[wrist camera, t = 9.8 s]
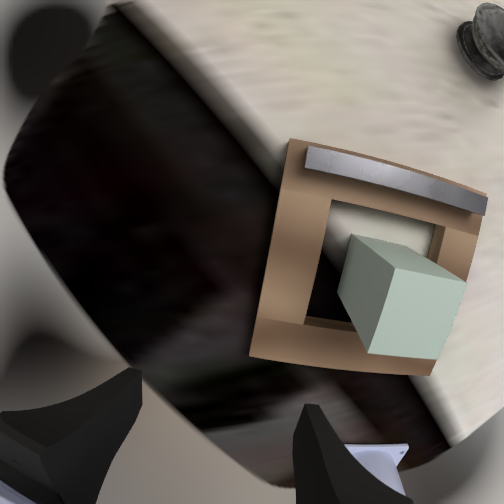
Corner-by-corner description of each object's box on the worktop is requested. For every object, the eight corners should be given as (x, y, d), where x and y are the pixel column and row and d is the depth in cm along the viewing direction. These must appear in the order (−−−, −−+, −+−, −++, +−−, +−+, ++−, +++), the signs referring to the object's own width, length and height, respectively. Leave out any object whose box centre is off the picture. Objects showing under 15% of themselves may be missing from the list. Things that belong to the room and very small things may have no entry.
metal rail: (472, 213, 17) (484, 215, 16) (302, 168, 18) (304, 167, 16) (475, 195, 17) (487, 197, 16) (305, 148, 17) (308, 145, 16)
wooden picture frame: (422, 365, 22) (429, 375, 20) (250, 345, 22) (248, 356, 21) (475, 192, 18) (486, 193, 17) (288, 141, 19) (289, 138, 17)
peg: (389, 300, 21) (437, 359, 13) (337, 291, 21) (367, 353, 13) (405, 245, 20) (467, 282, 12) (351, 233, 20) (395, 268, 12)
